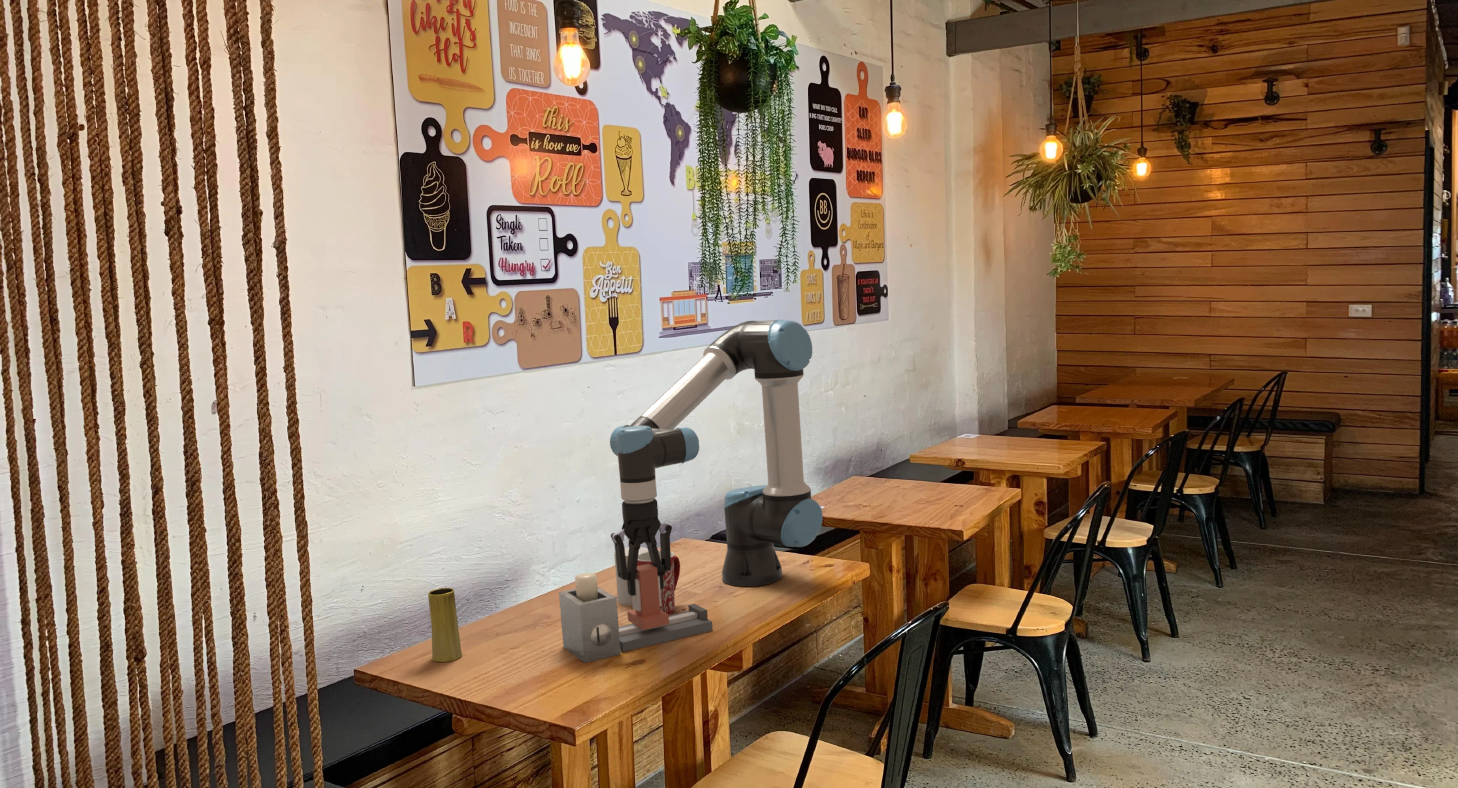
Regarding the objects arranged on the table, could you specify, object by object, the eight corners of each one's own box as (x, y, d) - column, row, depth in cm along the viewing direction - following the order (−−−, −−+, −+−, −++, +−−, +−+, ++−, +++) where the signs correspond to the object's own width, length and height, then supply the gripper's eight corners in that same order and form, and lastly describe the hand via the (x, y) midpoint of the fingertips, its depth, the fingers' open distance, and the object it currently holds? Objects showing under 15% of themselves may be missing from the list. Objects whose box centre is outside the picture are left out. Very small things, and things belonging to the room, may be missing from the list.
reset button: (593, 594, 224) (591, 571, 224) (601, 599, 221) (599, 576, 220) (573, 598, 222) (571, 575, 222) (581, 603, 218) (579, 580, 218)
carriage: (653, 614, 234) (649, 561, 232) (669, 623, 227) (665, 568, 225) (628, 620, 231) (623, 566, 229) (643, 629, 224) (639, 573, 222)
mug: (661, 620, 239) (656, 562, 238) (631, 615, 245) (626, 557, 244) (696, 605, 249) (692, 548, 248) (667, 600, 255) (663, 544, 253)
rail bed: (691, 618, 239) (690, 601, 239) (712, 630, 231) (711, 612, 230) (604, 639, 229) (603, 621, 229) (623, 651, 221) (621, 633, 220)
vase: (437, 653, 227) (431, 587, 226) (465, 651, 227) (459, 586, 226) (428, 663, 221) (422, 596, 220) (457, 661, 221) (451, 594, 219)
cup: (631, 607, 251) (627, 557, 250) (611, 601, 257) (607, 552, 256) (658, 599, 256) (655, 550, 255) (638, 593, 262) (635, 545, 261)
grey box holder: (598, 638, 230) (594, 584, 228) (622, 655, 219) (617, 598, 217) (563, 647, 226) (558, 591, 225) (585, 663, 215) (580, 606, 214)
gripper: (667, 490, 233) (675, 595, 236) (594, 503, 225) (603, 611, 227) (683, 495, 227) (690, 603, 229) (608, 508, 218) (617, 619, 221)
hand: (647, 606), depth 228 cm, fingers closed on carriage, 4 cm apart
